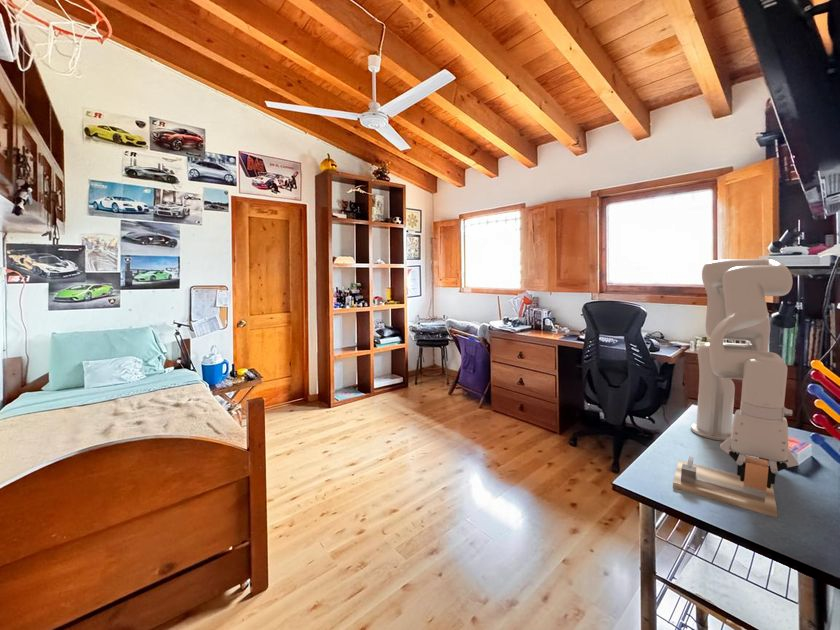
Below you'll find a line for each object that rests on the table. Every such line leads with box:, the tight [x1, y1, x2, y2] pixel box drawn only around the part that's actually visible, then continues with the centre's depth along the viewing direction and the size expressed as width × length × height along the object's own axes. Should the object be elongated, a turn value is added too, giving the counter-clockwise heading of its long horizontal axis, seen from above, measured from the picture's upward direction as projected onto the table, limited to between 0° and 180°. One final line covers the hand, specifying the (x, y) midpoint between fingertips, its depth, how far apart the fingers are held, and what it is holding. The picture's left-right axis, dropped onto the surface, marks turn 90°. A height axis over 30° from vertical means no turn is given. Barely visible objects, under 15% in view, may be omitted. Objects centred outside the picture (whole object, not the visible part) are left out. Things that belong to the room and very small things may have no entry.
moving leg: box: [743, 455, 769, 498], centre depth 93 cm, size 9×4×9 cm, turn 140°
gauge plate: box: [672, 455, 778, 518], centre depth 98 cm, size 14×20×5 cm
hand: (754, 481), depth 91 cm, fingers open, 4 cm apart
